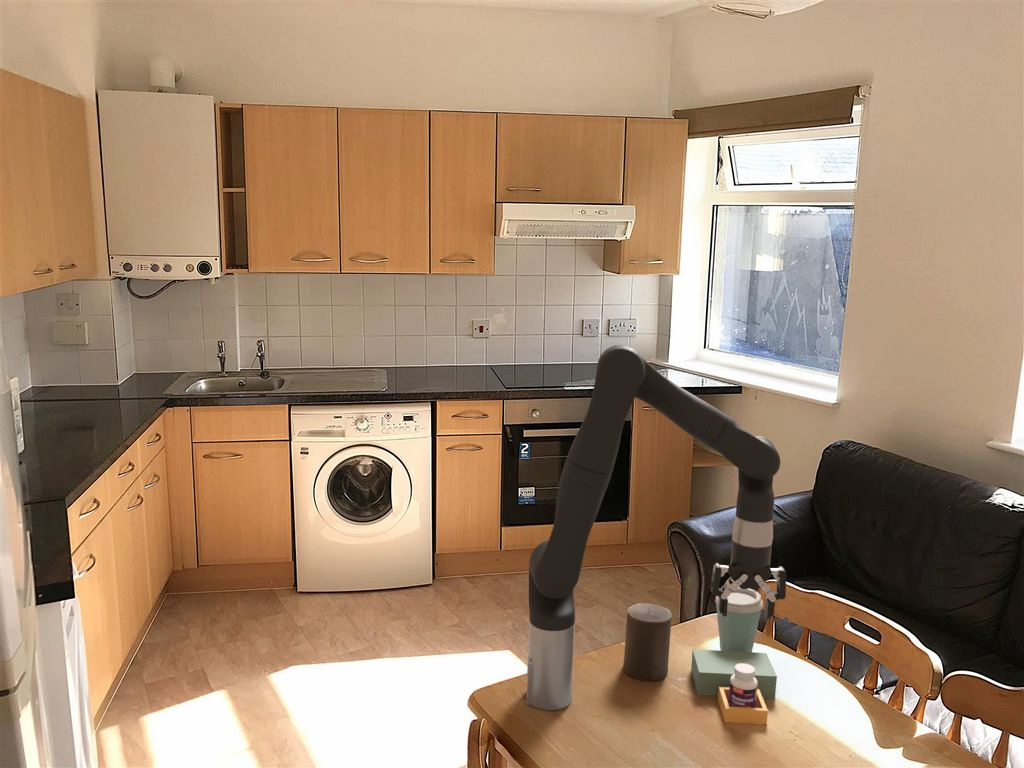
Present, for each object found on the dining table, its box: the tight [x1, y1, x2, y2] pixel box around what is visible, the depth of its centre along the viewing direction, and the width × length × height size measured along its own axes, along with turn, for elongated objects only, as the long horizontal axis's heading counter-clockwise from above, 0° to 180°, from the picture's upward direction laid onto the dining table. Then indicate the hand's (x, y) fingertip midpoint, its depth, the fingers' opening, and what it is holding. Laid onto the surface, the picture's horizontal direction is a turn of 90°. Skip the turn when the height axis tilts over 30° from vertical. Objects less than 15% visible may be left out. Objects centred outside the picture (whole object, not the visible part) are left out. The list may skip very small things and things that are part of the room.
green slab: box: [691, 648, 778, 726], centre depth 184 cm, size 16×20×5 cm
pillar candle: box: [622, 603, 673, 682], centre depth 193 cm, size 10×10×15 cm
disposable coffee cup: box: [714, 587, 764, 652], centre depth 201 cm, size 11×11×15 cm
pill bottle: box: [728, 663, 758, 708], centre depth 178 cm, size 5×5×10 cm
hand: (745, 616), depth 176 cm, fingers open, 8 cm apart
